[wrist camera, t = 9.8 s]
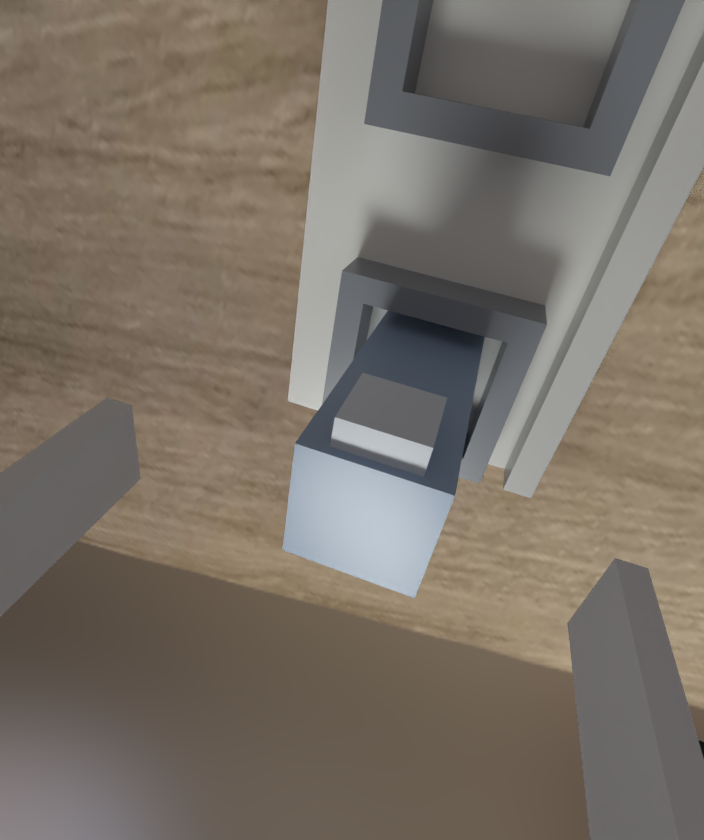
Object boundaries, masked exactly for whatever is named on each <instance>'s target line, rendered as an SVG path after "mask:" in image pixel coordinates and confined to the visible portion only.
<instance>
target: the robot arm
mask: <svg viewBox="0 0 704 840" xmlns="http://www.w3.org/2000/svg"><path fill="white" fill-rule="evenodd" d="M139 479H140V470H139V462H138V453H137V445H136V437H135V429H134V420H133V412H132V405H129V404H126V403H123V402H120V401H117V400H113V399H110V398H106V399H105V400H103V401H102V402H100V403H99V404H98V405H96V406H95V407H93V408H92V409H90V410H89V411H88V412H86V413H85V414H83V415H82V416H81V417H79V418H78V419H76V420H75V421H73V422H72V423H71V424H69V425H68V426H66V427H65V428H64V429H62V430H61V431H59V432H58V433H56V434H55V435H54V436H52V437H51V438H49V439H48V440H47V441H45V442H44V443H42V444H41V445H39V446H38V447H37V448H35V449H34V450H32V451H31V452H30V453H28V454H27V455H25V456H24V457H22V458H21V459H20V460H18V461H17V462H15V463H14V464H13V465H11V466H10V467H8V468H7V469H5V470H4V471H3V472H1V473H0V616H1V615H2V614H3V613H4V612H5V611H6V610H7V609H8V608H9V607H10V606H12V604H13V603H15V601H16V600H18V599H19V598H20V597H21V596H22V595H23V594H24V593H25V592H26V591H27V590H28V589H29V588H30V587H31V586H32V585H33V584H34V583H35V582H36V581H37V580H38V579H39V578H40V577H41V576H42V575H43V574H44V573H45V572H46V571H47V570H48V569H49V568H50V567H51V566H52V565H53V564H54V563H55V562H56V561H57V560H58V559H59V558H60V557H61V556H62V555H63V554H64V553H65V552H66V551H67V550H68V549H69V548H70V547H71V546H72V545H73V544H74V543H75V542H77V541H78V540H79V539H80V538H81V537H82V536H83V535H84V534H85V533H86V532H87V531H88V530H89V529H90V528H91V527H92V526H93V525H94V524H95V523H96V522H97V521H98V520H99V519H100V518H101V517H102V516H103V515H104V514H105V513H106V512H107V511H108V510H109V509H110V508H111V507H112V506H113V505H114V504H115V503H116V502H117V501H118V500H119V499H120V498H121V497H122V496H123V495H124V494H125V493H126V492H127V491H128V490H129V489H130V488H131V487H132V486H133V485H134V484H135V483H136V482H137V481H138V480H139ZM568 631H569V640H570V650H571V659H572V669H573V678H574V688H575V698H576V707H577V717H578V726H579V736H580V744H581V755H582V764H583V773H584V783H585V792H586V803H587V812H588V822H589V831H590V840H704V742H702V741H699V740H698V738H697V734H696V731H695V727H694V724H693V720H692V717H691V714H690V710H689V707H688V703H687V700H686V697H685V693H684V690H683V686H682V683H681V679H680V676H679V673H678V669H677V666H676V662H675V659H674V656H673V652H672V649H671V645H670V642H669V638H668V635H667V632H666V628H665V625H664V621H663V618H662V615H661V611H660V608H659V604H658V601H657V597H656V594H655V591H654V587H653V584H652V580H651V577H650V574H649V570H648V568H645V567H641V566H638V565H635V564H632V563H629V562H626V561H622V560H619V559H616V558H615V559H614V561H613V562H612V563H611V565H610V566H609V567H608V569H607V570H606V571H605V573H604V574H603V576H602V577H601V578H600V580H599V581H598V582H597V584H596V585H595V586H594V588H593V589H592V591H591V592H590V593H589V595H588V596H587V597H586V599H585V600H584V601H583V603H582V604H581V606H580V607H579V608H578V610H577V611H576V612H575V614H574V615H573V616H572V618H571V619H570V621H569V622H568Z"/></svg>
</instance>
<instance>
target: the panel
mask: <svg viewBox="0 0 704 840" xmlns="http://www.w3.org/2000/svg"><path fill="white" fill-rule="evenodd" d="M703 167H704V0H328V6H327V16H326V26H325V36H324V46H323V56H322V66H321V76H320V86H319V96H318V106H317V116H316V126H315V136H314V146H313V156H312V166H311V176H310V186H309V195H308V205H307V215H306V225H305V235H304V245H303V255H302V265H301V275H300V285H299V295H298V305H297V315H296V325H295V335H294V345H293V355H292V365H291V375H290V385H289V395H288V401H289V402H293V403H296V404H299V405H302V406H305V407H309V408H312V409H315V410H319V408H320V407H321V406H322V404H323V403H324V401H325V400H326V398H327V397H328V395H329V394H330V393H331V391H332V390H333V388H334V387H335V385H336V384H337V383H338V381H339V380H340V378H341V377H342V375H343V374H344V373H345V371H346V370H347V368H348V367H349V365H350V364H351V363H352V361H353V360H354V358H355V357H356V355H357V354H358V352H359V351H360V350H361V348H362V347H363V345H364V344H365V342H366V341H367V340H368V338H369V337H370V335H371V334H372V332H373V331H374V330H375V328H376V327H377V325H378V324H379V322H380V321H381V319H382V318H383V317H384V315H385V314H386V312H387V311H388V310H389V311H392V312H396V313H400V314H403V315H407V316H410V317H414V318H418V319H421V320H425V321H429V322H432V323H436V324H440V325H443V326H447V327H451V328H454V329H458V330H462V331H465V332H469V333H473V334H476V335H480V336H484V337H485V338H484V343H483V349H482V354H481V359H480V365H479V370H478V375H477V381H476V386H475V391H474V397H473V402H472V407H471V413H470V418H469V423H468V429H467V434H466V439H465V445H464V450H463V455H462V461H461V466H460V471H459V477H460V478H464V479H467V480H470V481H473V482H476V483H480V481H481V479H482V476H483V474H484V472H485V469H486V467H487V465H488V464H490V465H494V466H497V467H500V468H503V469H504V482H503V490H506V491H509V492H513V493H516V494H519V495H522V496H525V497H528V498H531V497H532V495H533V493H534V491H535V489H536V487H537V485H538V483H539V481H540V479H541V477H542V475H543V474H544V472H545V470H546V468H547V466H548V464H549V462H550V460H551V458H552V456H553V454H554V452H555V451H556V449H557V447H558V445H559V443H560V441H561V439H562V437H563V435H564V433H565V431H566V429H567V428H568V426H569V424H570V422H571V420H572V418H573V416H574V414H575V412H576V410H577V408H578V406H579V404H580V403H581V401H582V399H583V397H584V395H585V393H586V391H587V389H588V387H589V385H590V383H591V381H592V380H593V378H594V376H595V374H596V372H597V370H598V368H599V366H600V364H601V362H602V360H603V358H604V357H605V355H606V353H607V351H608V349H609V347H610V345H611V343H612V341H613V339H614V337H615V335H616V334H617V332H618V330H619V328H620V326H621V324H622V322H623V320H624V318H625V316H626V314H627V312H628V311H629V309H630V307H631V305H632V303H633V301H634V299H635V297H636V295H637V293H638V291H639V289H640V288H641V286H642V284H643V282H644V280H645V278H646V276H647V274H648V272H649V270H650V268H651V266H652V265H653V263H654V261H655V259H656V257H657V255H658V253H659V251H660V249H661V247H662V245H663V243H664V242H665V240H666V238H667V236H668V234H669V232H670V230H671V228H672V226H673V224H674V222H675V220H676V218H677V217H678V215H679V213H680V211H681V209H682V207H683V205H684V203H685V201H686V199H687V197H688V195H689V194H690V192H691V190H692V188H693V186H694V184H695V182H696V180H697V178H698V176H699V174H700V172H701V171H702V169H703Z"/></svg>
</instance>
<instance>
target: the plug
mask: <svg viewBox="0 0 704 840" xmlns="http://www.w3.org/2000/svg"><path fill="white" fill-rule="evenodd" d="M484 338H485V337H484V336H480V335H476V334H473V333H469V332H465V331H462V330H458V329H454V328H451V327H447V326H443V325H440V324H436V323H432V322H429V321H425V320H421V319H418V318H414V317H410V316H407V315H403V314H400V313H396V312H392V311H389V310H388V311H387V312H386V314H385V315H384V317H383V318H382V319H381V321H380V322H379V324H378V325H377V327H376V328H375V330H374V331H373V332H372V334H371V335H370V337H369V338H368V340H367V341H366V342H365V344H364V345H363V347H362V348H361V350H360V351H359V352H358V354H357V355H356V357H355V358H354V360H353V361H352V363H351V364H350V365H349V367H348V368H347V370H346V371H345V373H344V374H343V375H342V377H341V378H340V380H339V381H338V383H337V384H336V385H335V387H334V388H333V390H332V391H331V393H330V394H329V395H328V397H327V398H326V400H325V401H324V403H323V404H322V406H321V407H320V408H319V410H318V411H317V413H316V414H315V416H314V417H313V418H312V420H311V421H310V423H309V424H308V426H307V427H306V428H305V430H304V431H303V433H302V434H301V436H300V437H299V439H298V440H297V441H296V443H295V448H294V457H293V465H292V474H291V482H290V491H289V499H288V508H287V516H286V524H285V533H284V541H283V550H284V551H287V552H289V553H292V554H295V555H298V556H300V557H303V558H306V559H309V560H311V561H314V562H317V563H319V564H322V565H325V566H328V567H330V568H333V569H336V570H339V571H341V572H344V573H347V574H350V575H352V576H355V577H358V578H361V579H363V580H366V581H369V582H371V583H374V584H377V585H380V586H382V587H385V588H388V589H391V590H393V591H396V592H399V593H402V594H404V595H407V596H410V597H413V598H415V596H416V593H417V591H418V588H419V586H420V583H421V581H422V578H423V576H424V573H425V571H426V568H427V565H428V563H429V560H430V558H431V555H432V553H433V550H434V548H435V545H436V543H437V540H438V538H439V535H440V532H441V530H442V527H443V525H444V522H445V520H446V517H447V515H448V512H449V510H450V507H451V505H452V502H453V499H454V497H455V493H456V487H457V482H458V477H459V471H460V466H461V461H462V455H463V450H464V445H465V439H466V434H467V429H468V423H469V418H470V413H471V407H472V402H473V397H474V391H475V386H476V381H477V375H478V370H479V365H480V359H481V354H482V349H483V343H484Z"/></svg>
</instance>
